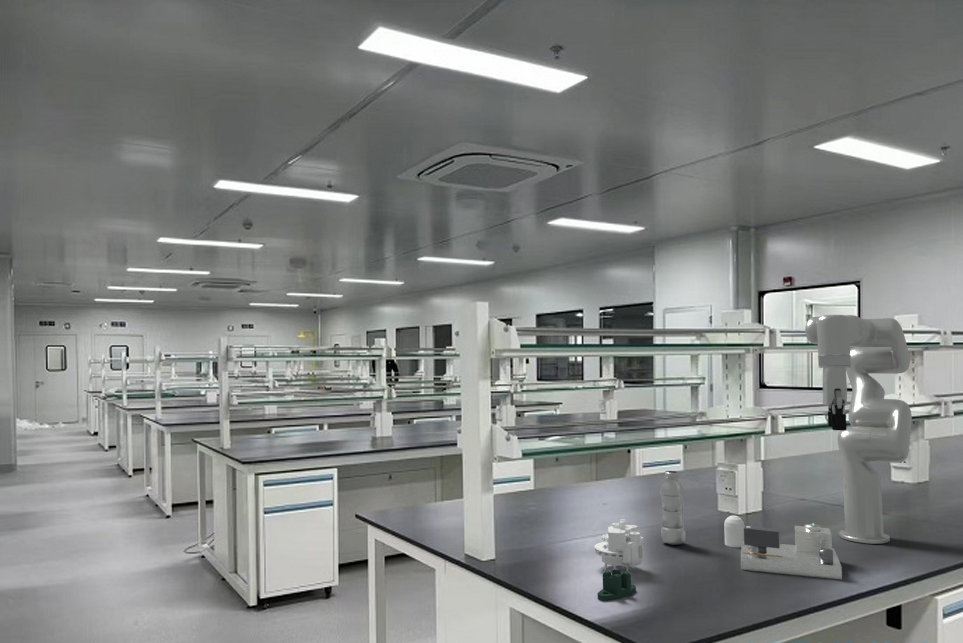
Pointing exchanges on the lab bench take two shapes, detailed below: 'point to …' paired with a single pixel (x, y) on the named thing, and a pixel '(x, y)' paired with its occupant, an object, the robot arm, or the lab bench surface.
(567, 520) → the lab bench surface
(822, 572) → the levelling base
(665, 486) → the plastic bottle
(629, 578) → the mount
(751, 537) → the block
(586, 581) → the lab bench surface
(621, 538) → the mechanical part
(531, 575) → the lab bench surface
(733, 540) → the capsule
